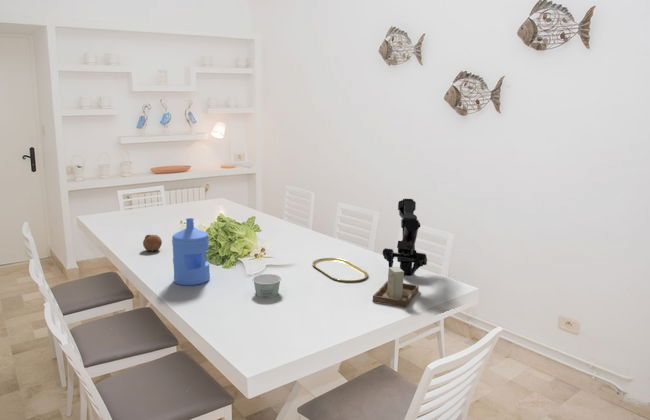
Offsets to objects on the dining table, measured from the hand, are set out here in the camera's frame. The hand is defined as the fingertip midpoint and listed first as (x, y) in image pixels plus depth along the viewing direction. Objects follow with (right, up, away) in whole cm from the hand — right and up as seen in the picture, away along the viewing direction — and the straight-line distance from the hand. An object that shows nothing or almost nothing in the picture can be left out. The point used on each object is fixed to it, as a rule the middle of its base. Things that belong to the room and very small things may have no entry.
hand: (400, 273), depth 214 cm
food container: (-56, -8, -2) cm, 57 cm away
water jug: (-92, -4, +12) cm, 92 cm away
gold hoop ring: (-25, -3, +29) cm, 38 cm away
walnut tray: (-2, -9, -3) cm, 10 cm away
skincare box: (-3, -9, -5) cm, 11 cm away
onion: (-124, +5, +55) cm, 135 cm away
